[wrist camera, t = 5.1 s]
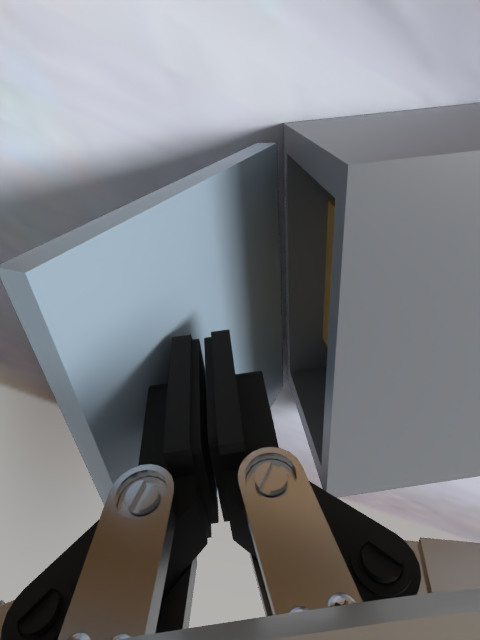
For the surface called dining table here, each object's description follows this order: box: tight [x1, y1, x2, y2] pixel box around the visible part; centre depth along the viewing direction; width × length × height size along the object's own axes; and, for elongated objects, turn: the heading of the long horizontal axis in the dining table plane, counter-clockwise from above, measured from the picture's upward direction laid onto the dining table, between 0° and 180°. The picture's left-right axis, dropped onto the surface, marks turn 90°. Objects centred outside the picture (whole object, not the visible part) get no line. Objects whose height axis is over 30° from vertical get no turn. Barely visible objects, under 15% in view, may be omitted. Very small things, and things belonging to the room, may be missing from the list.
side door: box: [0, 143, 283, 506], centre depth 14 cm, size 12×1×11 cm, turn 5°
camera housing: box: [283, 103, 480, 498], centre depth 16 cm, size 15×9×7 cm, turn 5°
